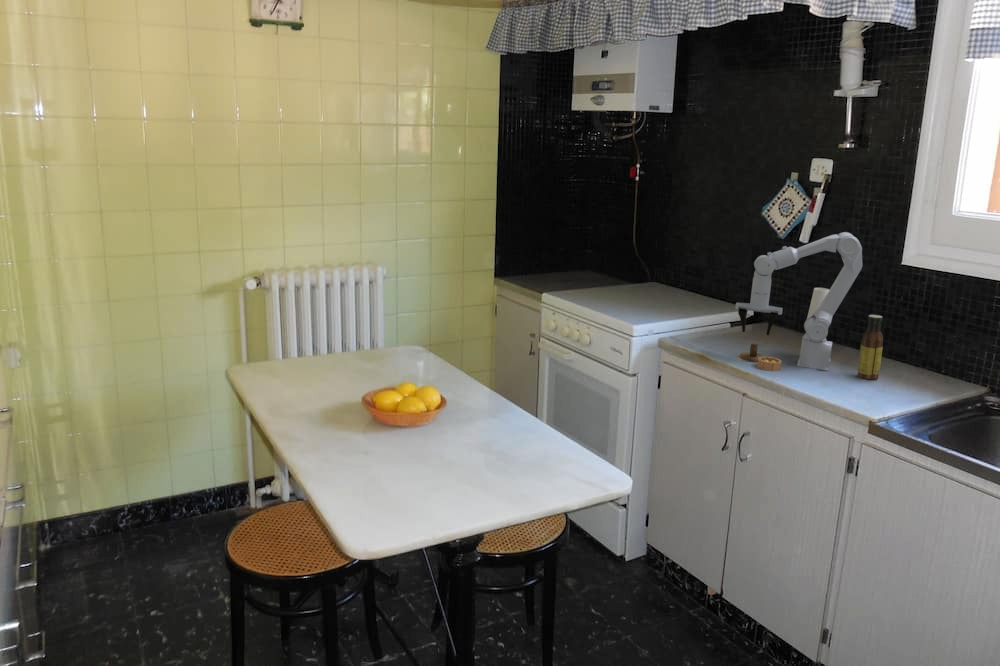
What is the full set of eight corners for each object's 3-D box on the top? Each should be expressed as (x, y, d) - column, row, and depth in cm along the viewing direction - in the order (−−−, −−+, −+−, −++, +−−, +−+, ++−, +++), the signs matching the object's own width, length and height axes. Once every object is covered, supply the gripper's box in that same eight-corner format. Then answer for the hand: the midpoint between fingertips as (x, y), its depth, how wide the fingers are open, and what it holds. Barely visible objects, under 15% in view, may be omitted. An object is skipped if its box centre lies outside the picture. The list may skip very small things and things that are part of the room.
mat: (767, 358, 267) (768, 357, 267) (765, 364, 260) (765, 363, 260) (740, 354, 270) (740, 353, 270) (736, 360, 263) (737, 359, 263)
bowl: (781, 367, 257) (782, 358, 257) (779, 373, 251) (780, 364, 250) (758, 364, 260) (759, 355, 259) (756, 370, 254) (757, 361, 253)
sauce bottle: (874, 374, 253) (884, 314, 248) (881, 380, 247) (891, 319, 242) (853, 373, 254) (862, 312, 249) (859, 379, 248) (869, 317, 243)
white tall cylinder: (827, 361, 266) (837, 291, 260) (810, 362, 264) (820, 291, 258) (813, 355, 272) (823, 286, 266) (797, 356, 270) (806, 287, 264)
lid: (767, 356, 267) (768, 343, 266) (764, 363, 260) (766, 349, 258) (741, 353, 270) (743, 339, 269) (737, 359, 263) (739, 345, 262)
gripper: (785, 293, 260) (779, 333, 263) (739, 287, 265) (734, 327, 269) (783, 296, 254) (777, 338, 257) (736, 291, 259) (731, 331, 263)
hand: (755, 332), depth 263 cm, fingers open, 7 cm apart
